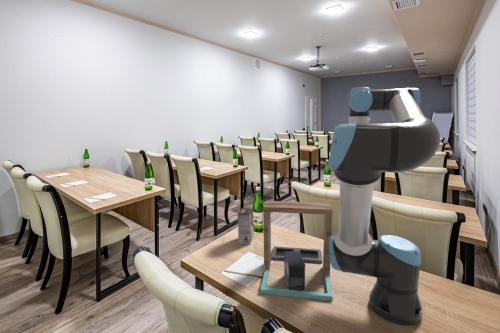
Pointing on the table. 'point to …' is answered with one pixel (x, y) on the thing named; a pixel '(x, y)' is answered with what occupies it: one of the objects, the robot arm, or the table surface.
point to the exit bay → (294, 292)
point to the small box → (294, 270)
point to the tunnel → (297, 208)
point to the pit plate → (306, 254)
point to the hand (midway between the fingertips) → (355, 183)
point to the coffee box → (245, 226)
